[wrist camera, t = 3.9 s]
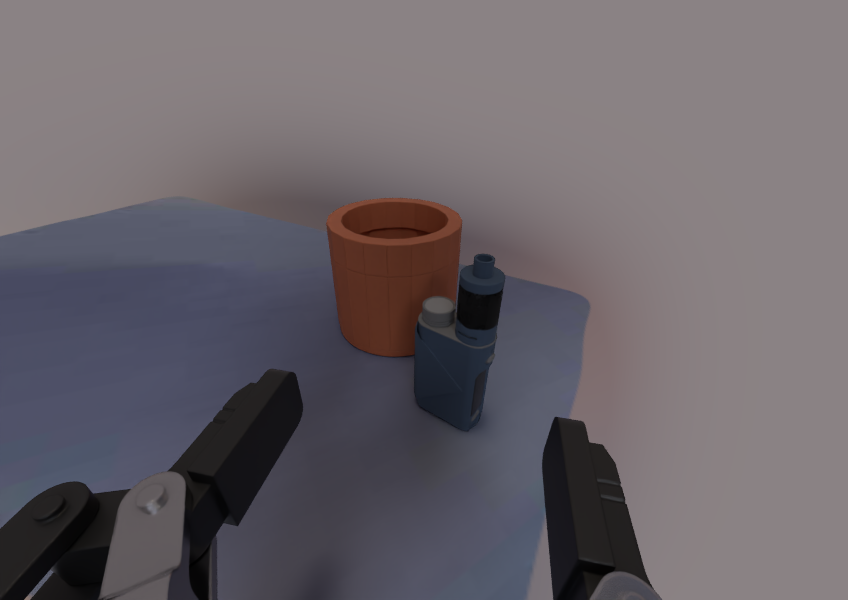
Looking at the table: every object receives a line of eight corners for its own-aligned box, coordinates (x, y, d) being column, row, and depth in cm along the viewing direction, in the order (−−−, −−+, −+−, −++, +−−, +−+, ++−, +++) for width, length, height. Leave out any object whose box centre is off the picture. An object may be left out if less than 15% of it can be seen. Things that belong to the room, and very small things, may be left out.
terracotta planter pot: (459, 297, 38) (467, 203, 33) (444, 365, 29) (452, 251, 24) (362, 285, 40) (355, 193, 34) (320, 346, 31) (302, 236, 25)
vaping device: (471, 439, 23) (495, 274, 17) (407, 401, 26) (406, 246, 19) (490, 413, 25) (517, 256, 19) (428, 380, 28) (433, 232, 21)
